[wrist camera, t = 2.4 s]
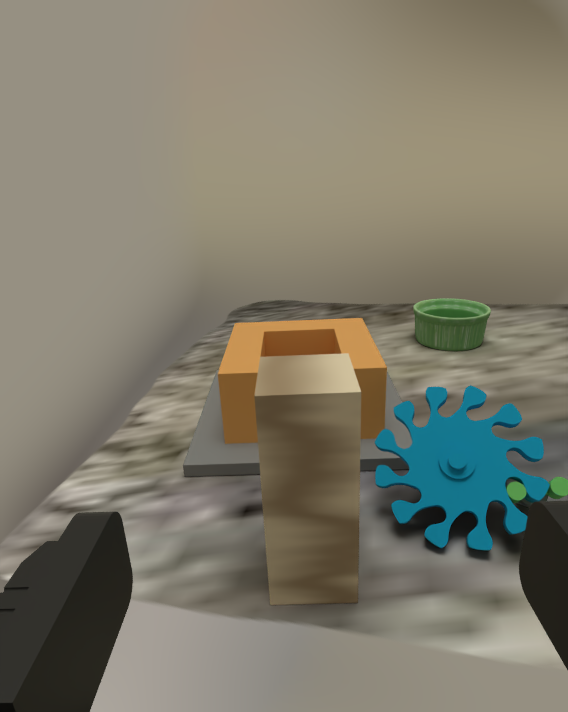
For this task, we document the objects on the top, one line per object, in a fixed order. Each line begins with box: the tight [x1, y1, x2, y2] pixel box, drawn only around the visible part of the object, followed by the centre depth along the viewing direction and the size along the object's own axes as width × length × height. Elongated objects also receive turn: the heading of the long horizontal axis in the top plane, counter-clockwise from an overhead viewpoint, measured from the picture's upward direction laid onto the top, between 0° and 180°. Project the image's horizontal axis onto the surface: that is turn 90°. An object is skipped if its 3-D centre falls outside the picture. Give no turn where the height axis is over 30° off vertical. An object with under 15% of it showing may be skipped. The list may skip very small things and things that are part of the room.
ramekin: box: [413, 299, 491, 351], centre depth 58 cm, size 9×9×4 cm
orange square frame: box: [183, 318, 412, 477], centre depth 42 cm, size 18×18×7 cm
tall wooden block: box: [254, 353, 361, 605], centre depth 24 cm, size 4×4×12 cm
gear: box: [375, 385, 568, 550], centre depth 30 cm, size 11×6×10 cm
